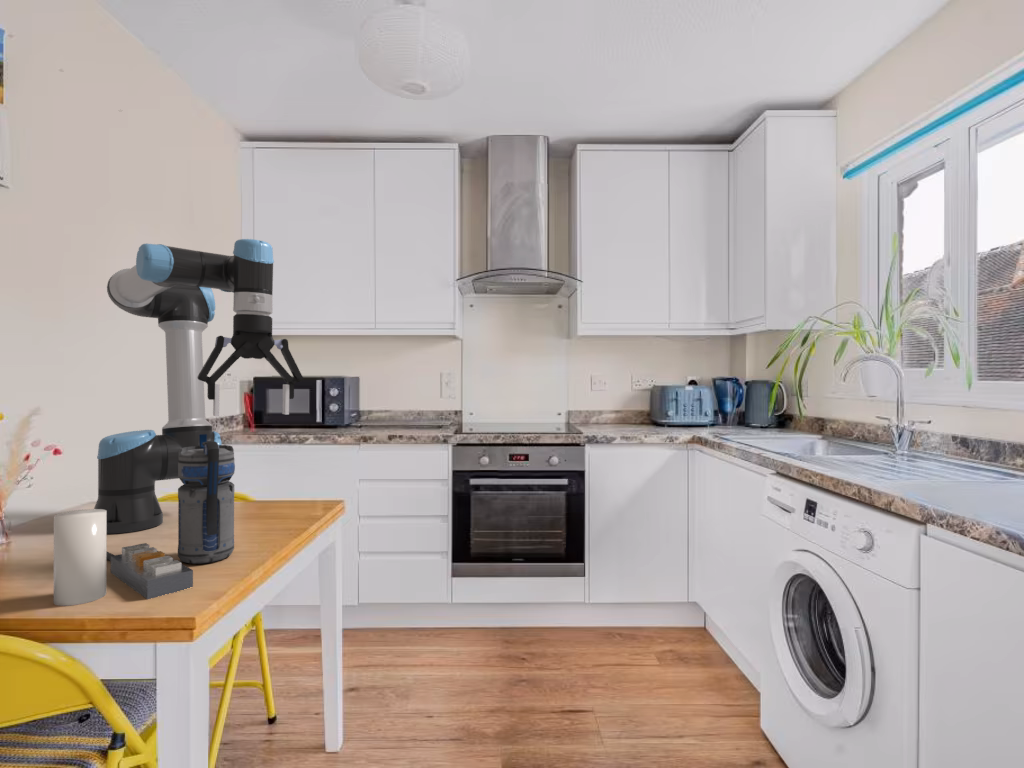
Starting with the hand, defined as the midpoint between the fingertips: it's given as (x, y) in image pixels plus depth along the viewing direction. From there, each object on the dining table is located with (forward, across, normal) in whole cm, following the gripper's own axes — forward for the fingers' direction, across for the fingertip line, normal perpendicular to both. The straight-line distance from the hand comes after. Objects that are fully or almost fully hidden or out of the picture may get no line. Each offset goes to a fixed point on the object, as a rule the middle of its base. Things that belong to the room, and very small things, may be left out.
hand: (252, 415), depth 120 cm
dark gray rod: (+29, -24, +9) cm, 39 cm away
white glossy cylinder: (+29, -28, -12) cm, 42 cm away
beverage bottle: (+29, -8, -1) cm, 30 cm away
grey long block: (+29, -18, -9) cm, 36 cm away
